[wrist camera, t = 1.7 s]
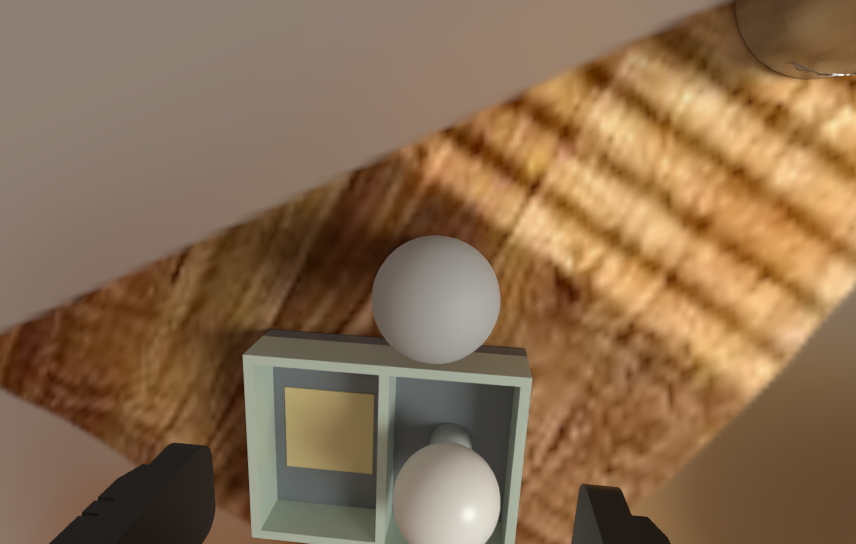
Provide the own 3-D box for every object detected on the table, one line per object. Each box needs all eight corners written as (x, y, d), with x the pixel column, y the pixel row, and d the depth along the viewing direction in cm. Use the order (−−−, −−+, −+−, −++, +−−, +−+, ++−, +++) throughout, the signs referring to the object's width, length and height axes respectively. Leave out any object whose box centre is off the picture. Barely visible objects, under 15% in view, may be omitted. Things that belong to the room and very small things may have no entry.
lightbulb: (412, 316, 33) (383, 400, 23) (384, 226, 32) (340, 271, 21) (504, 294, 32) (519, 370, 22) (480, 200, 31) (482, 233, 20)
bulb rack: (269, 329, 34) (192, 401, 25) (525, 348, 33) (545, 432, 24) (275, 494, 38) (209, 613, 28) (508, 517, 37) (519, 650, 27)
